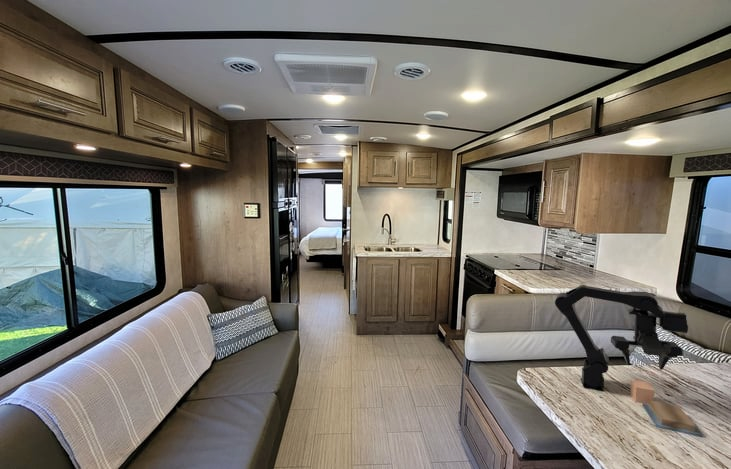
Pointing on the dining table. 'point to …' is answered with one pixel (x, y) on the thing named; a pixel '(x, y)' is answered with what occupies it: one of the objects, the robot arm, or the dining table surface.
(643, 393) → the terracotta cube
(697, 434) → the foundation block
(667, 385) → the dining table surface
